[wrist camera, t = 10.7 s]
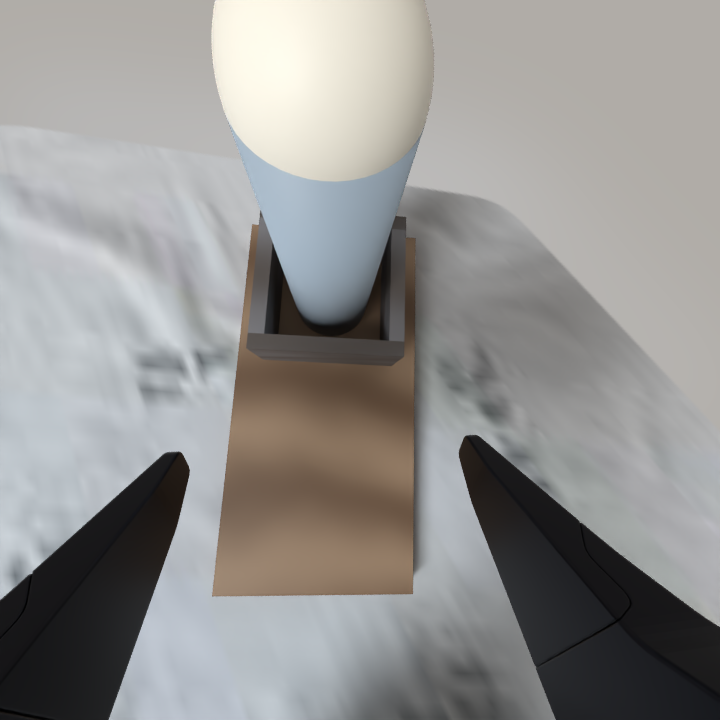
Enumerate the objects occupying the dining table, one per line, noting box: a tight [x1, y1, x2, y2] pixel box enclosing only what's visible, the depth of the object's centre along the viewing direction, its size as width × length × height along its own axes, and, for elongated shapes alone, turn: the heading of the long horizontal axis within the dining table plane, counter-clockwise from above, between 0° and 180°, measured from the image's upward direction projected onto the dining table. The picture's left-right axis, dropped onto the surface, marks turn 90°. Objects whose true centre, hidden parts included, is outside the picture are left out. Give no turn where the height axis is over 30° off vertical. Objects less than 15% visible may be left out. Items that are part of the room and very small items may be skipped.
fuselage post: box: [211, 0, 434, 336], centre depth 12 cm, size 4×4×15 cm
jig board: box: [212, 210, 415, 596], centre depth 17 cm, size 22×11×5 cm, turn 178°
